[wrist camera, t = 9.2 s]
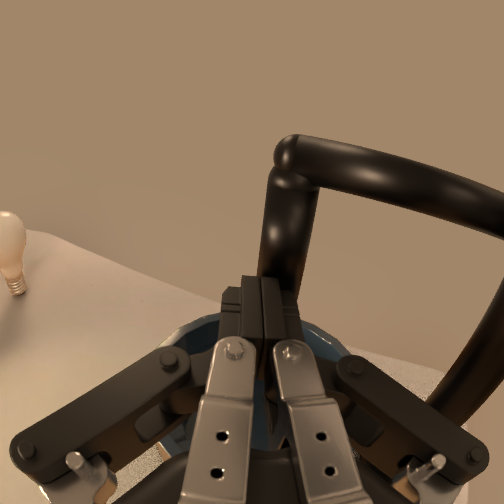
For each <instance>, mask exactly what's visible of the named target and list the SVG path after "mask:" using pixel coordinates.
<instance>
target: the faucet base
mask: <svg viewBox="0 0 504 504" xmlns="http://www.w3.org/2000/svg"><path fill="white" fill-rule="evenodd" d="M503 380H504V278H503V280H502V282H501V284H500V286H499V289H498V290H497V292H496V294H495V296H494V298H493V300H492V302H491V304H490V306H489V307H488V309H487V311H486V313H485V315H484V317H483V318H482V320H481V322H480V323H479V325H478V327H477V328H476V330H475V332H474V334H473V335H472V337H471V338H470V340H469V342H468V343H467V345H466V346H465V348H464V349H463V351H462V352H461V354H460V355H459V357H458V358H457V360H456V361H455V363H454V364H453V365H452V367H451V368H450V370H449V371H448V372H447V374H446V375H445V376H444V378H443V379H442V381H441V382H440V383H439V384H438V386H437V387H436V388H435V390H434V391H433V392H432V393H431V395H430V396H429V397H428V398H427V400H426V401H425V402H426V403H427V404H428V405H430V406H431V407H433V408H434V409H435V410H437V411H438V412H440V413H441V414H443V415H444V416H445V417H447V418H448V419H450V420H451V421H452V422H454V423H455V424H457V425H458V426H460V427H461V426H462V425H463V424H464V423H465V422H466V421H467V420H468V419H469V418H470V417H471V416H472V415H473V413H475V411H476V410H477V409H478V408H479V407H480V406H481V405H482V404H483V403H484V402H485V401H486V400H487V399H488V397H489V396H490V395H491V394H492V393H493V392H494V391H495V389H496V388H497V387H498V386H499V385H500V383H501V382H502V381H503ZM360 460H361V461H362V462H363V463H365V464H366V465H367V466H368V467H369V468H371V469H372V470H373V471H374V472H375V473H376V474H378V475H379V476H380V477H381V478H383V479H384V480H385V481H386V482H387V483H389V484H390V485H391V486H392V479H391V478H390V477H389V476H387V475H386V474H385V473H384V472H382V471H381V470H380V469H378V468H377V467H376V466H374V465H373V464H372V463H371V462H369V461H368V460H367V459H365V458H364V457H363V456H362V455H361V457H360Z"/></svg>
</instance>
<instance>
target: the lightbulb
mask: <svg viewBox="0 0 504 504" xmlns="http://www.w3.org/2000/svg"><path fill="white" fill-rule="evenodd" d="M25 245H26V231H25V227H24V225H23V223H22V221H21V220H20V218H19V217H18V216H17V215H15V214H14V213H12V212H9V211H0V272H1V274H2V275H3V276H4V277H5V279H6V281H7V284H8V287H9V290H10V293H11V294H13V295H20V294H22V293H23V292H24V291H25V290H26V289H27V284H26V281H25V278H24V274H23V271H22V269H23V263H22V256H23V252H24V249H25Z"/></svg>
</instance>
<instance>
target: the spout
mask: <svg viewBox="0 0 504 504" xmlns="http://www.w3.org/2000/svg"><path fill="white" fill-rule="evenodd" d="M273 159H274V164H275V166H274V167H273V168H272V170H271V172H270V174H269V177H268V184H267V193H266V201H265V210H264V218H263V226H262V235H261V243H260V251H259V260H258V268H257V276H258V277H273V278H278V280H279V287H280V290H288V291H290V292H291V293H292V294H293V295H294V297H295V298H296V300H297V299H298V295H299V290H300V286H301V281H302V276H303V271H304V267H305V262H306V257H307V253H308V248H309V243H310V238H311V233H312V228H313V222H314V217H315V212H316V206H317V200H318V195H319V189H320V187H323V188H328V189H332V190H336V191H340V192H345V193H349V194H353V195H358V196H361V197H365V198H369V199H373V200H377V201H381V202H384V203H388V204H392V205H395V206H399V207H402V208H406V209H410V210H413V211H416V212H420V213H423V214H427V215H430V216H434V217H436V218H440V219H443V220H446V221H450V222H453V223H455V224H458V225H462V226H465V227H468V228H470V229H474V230H476V231H479V232H482V233H485V234H488V235H491V236H493V237H496V238H499V239H502V240H504V193H503V192H500V191H498V190H496V189H493V188H491V187H488V186H486V185H483V184H480V183H478V182H476V181H473V180H470V179H467V178H465V177H462V176H459V175H456V174H454V173H451V172H448V171H445V170H442V169H439V168H436V167H433V166H429V165H426V164H423V163H420V162H416V161H413V160H410V159H406V158H403V157H399V156H396V155H392V154H388V153H384V152H381V151H376V150H372V149H369V148H364V147H360V146H356V145H352V144H347V143H342V142H338V141H333V140H328V139H323V138H317V137H312V136H307V135H300V134H294V135H289V136H287V137H285V138H283V139H282V140H281V141H280V142H279V143H278V145H277V146H276V148H275V151H274V158H273Z"/></svg>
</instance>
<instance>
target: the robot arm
mask: <svg viewBox="0 0 504 504" xmlns="http://www.w3.org/2000/svg"><path fill="white" fill-rule="evenodd" d="M299 315H300V314H299V310H298V305H297V300H296V298H295V297H294V295H293V294H292V293H291V292H290V291H288V290H280V287H279V280H278V278H273V277H258V276H244V275H242V279H241V287H230V286H229V287H228V288H227V289H226V290H225V291H224V293H223V294H222V303H221V312H220V322H219V331H218V339H217V342H216V344H215V345H214V346H213V347H212V348H211V349H210V350H208V351H206V352H203V353H199V354H192V355H189V354H188V353H187V352H186V351H185V350H183V349H182V348H179V347H176V346H163V347H160V348H157V349H156V350H154V351H152V352H151V353H149V354H148V355H146V356H145V357H143V358H142V359H140V360H138V361H137V362H135V363H134V364H132V365H131V366H129V367H127V368H126V369H124V370H123V371H121V372H119V373H118V374H116V375H115V376H113V377H111V378H110V379H108V380H107V381H105V382H103V383H102V384H100V385H99V386H97V387H95V388H94V389H92V390H90V391H89V392H87V393H86V394H84V395H82V396H81V397H79V398H77V399H76V400H74V401H72V402H71V403H69V404H67V405H66V406H64V407H62V408H61V409H59V410H57V411H56V412H54V413H52V414H51V415H49V416H47V417H46V418H44V419H42V420H41V421H39V422H37V423H35V424H34V425H32V426H30V427H29V428H27V429H25V430H23V431H22V432H20V433H18V434H17V435H16V436H15V437H14V438H13V439H12V441H11V444H10V448H9V453H10V457H11V460H12V462H13V463H14V465H15V466H16V467H17V468H18V469H19V470H21V471H22V472H23V473H25V474H26V475H27V476H28V477H29V478H30V479H31V480H33V481H34V482H36V483H37V484H38V486H39V487H40V489H41V490H42V492H43V494H44V495H45V497H46V498H47V500H48V501H49V502H50V504H106V502H107V500H108V499H109V498H110V497H111V496H112V495H113V494H114V492H115V491H116V489H117V477H116V475H115V473H116V472H117V471H119V470H120V469H122V468H123V467H125V466H126V465H127V464H129V463H130V462H132V461H133V460H134V459H136V458H137V457H138V456H140V455H141V454H143V453H144V452H145V451H147V450H148V449H149V448H151V447H152V446H153V445H155V444H156V443H157V442H158V441H160V440H161V439H162V438H164V437H165V436H166V435H168V434H169V433H170V432H171V431H173V430H174V429H175V428H176V427H178V426H179V425H180V424H181V423H183V422H184V421H185V420H186V419H188V418H189V417H190V416H191V415H192V414H193V412H198V413H197V418H196V422H195V427H194V432H193V437H192V442H191V446H190V450H189V451H185V452H182V453H179V454H177V455H175V456H173V457H171V458H169V459H168V460H166V461H165V462H163V463H162V464H161V465H160V466H158V467H157V468H156V469H155V470H154V471H153V472H151V473H150V474H149V475H148V476H146V477H145V478H144V479H143V480H142V481H140V482H139V483H138V484H136V485H135V486H134V487H133V488H131V489H130V490H129V491H128V492H126V493H125V494H124V495H122V496H121V497H120V498H118V499H117V500H116V501H114V502H113V503H112V504H453V502H454V501H455V499H456V497H457V496H458V494H459V492H460V490H461V488H462V487H463V485H464V484H465V483H466V482H468V481H470V480H471V479H473V478H474V477H476V476H477V475H478V474H480V473H481V472H483V471H484V470H485V469H486V467H487V466H488V463H489V452H488V449H487V447H486V446H485V445H484V443H482V442H481V441H480V440H478V439H477V438H475V437H474V436H472V435H471V434H470V433H468V432H467V431H465V430H464V429H462V428H461V427H460V426H458V425H457V424H455V423H454V422H452V421H451V420H450V419H448V418H447V417H445V416H444V415H443V414H441V413H440V412H438V411H437V410H435V409H434V408H433V407H431V406H430V405H428V404H427V403H426V402H424V401H423V400H421V399H420V398H419V397H417V396H416V395H415V394H413V393H412V392H410V391H409V390H408V389H406V388H405V387H403V386H402V385H401V384H399V383H398V382H396V381H395V380H394V379H392V378H391V377H390V376H388V375H387V374H385V373H384V372H383V371H381V370H380V369H379V368H377V367H376V366H375V365H373V364H372V363H370V362H369V361H368V360H366V359H365V358H363V357H361V356H357V355H346V356H344V357H342V358H340V359H339V360H338V362H334V361H330V360H326V359H323V358H320V357H318V356H316V355H314V354H313V352H312V350H311V348H310V347H309V346H308V345H307V344H306V343H305V339H304V334H303V329H302V324H301V319H300V317H299ZM256 375H257V380H264V392H263V396H262V397H263V406H264V413H265V420H266V427H267V434H268V452H267V451H262V450H257V449H253V448H250V446H251V433H252V420H253V406H254V401H253V389H254V380H256ZM351 447H352V448H353V449H354V450H356V451H357V452H358V453H359V454H360V455H362V456H363V457H364V458H365V459H367V460H368V461H369V462H371V463H372V464H373V465H374V466H376V467H377V468H378V469H380V470H381V471H382V472H384V473H385V474H386V475H387V476H389V477H390V478H391V479H392V486H391V485H390V484H389V483H387V482H386V481H385V480H384V479H383V478H381V477H380V476H379V475H378V474H376V473H375V472H374V471H373V470H372V469H371V468H369V467H368V466H367V465H366V464H365V463H363V462H362V461H361V460H359V459H358V458H356V457H354V455H353V451H352V448H351Z"/></svg>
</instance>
